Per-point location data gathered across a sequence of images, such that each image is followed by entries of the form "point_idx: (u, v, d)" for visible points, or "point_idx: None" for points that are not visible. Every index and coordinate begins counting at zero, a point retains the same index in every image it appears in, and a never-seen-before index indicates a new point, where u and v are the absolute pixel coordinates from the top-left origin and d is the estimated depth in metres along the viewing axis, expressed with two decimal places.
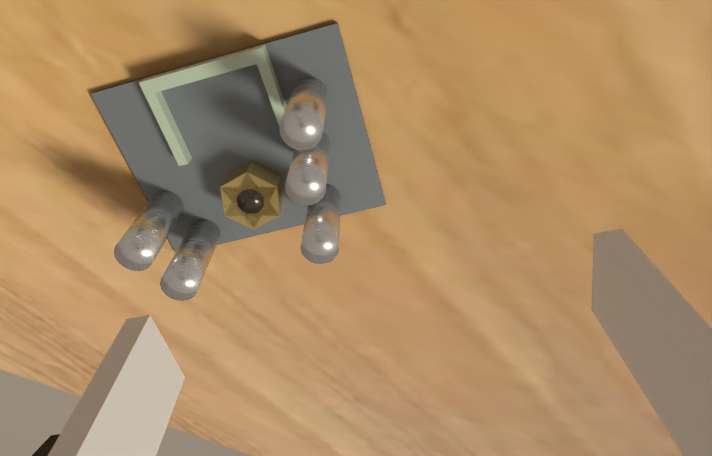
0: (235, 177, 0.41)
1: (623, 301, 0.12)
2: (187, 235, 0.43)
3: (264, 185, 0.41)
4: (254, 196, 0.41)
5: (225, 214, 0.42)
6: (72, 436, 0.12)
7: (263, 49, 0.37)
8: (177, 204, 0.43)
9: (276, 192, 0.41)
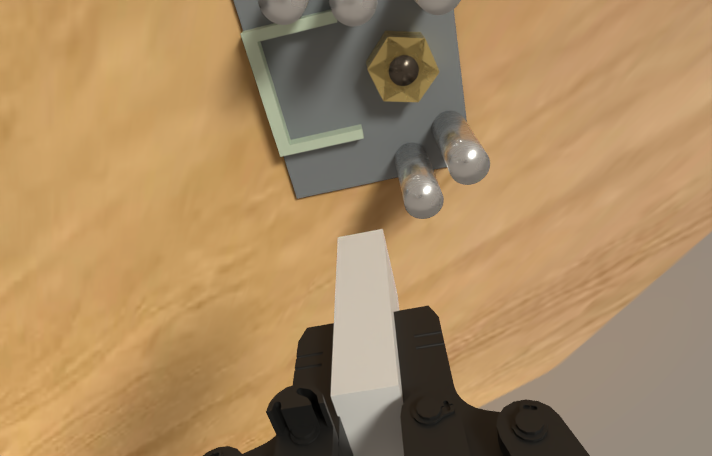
0: (374, 82, 0.38)
1: None
2: (438, 145, 0.40)
3: (384, 51, 0.36)
4: (397, 64, 0.37)
5: (416, 100, 0.38)
6: (348, 319, 0.13)
7: (243, 33, 0.37)
8: (407, 148, 0.42)
9: (394, 38, 0.36)
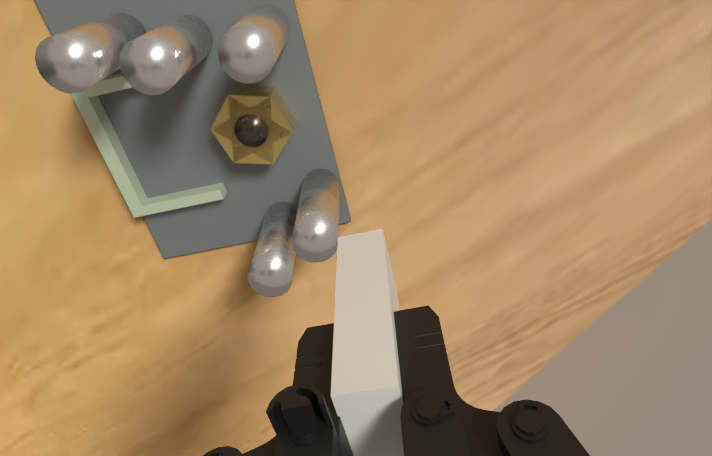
0: None
1: None
2: None
3: (227, 110, 0.32)
4: (244, 124, 0.33)
5: (271, 162, 0.34)
6: (348, 319, 0.13)
7: None
8: (274, 209, 0.38)
9: (235, 96, 0.32)
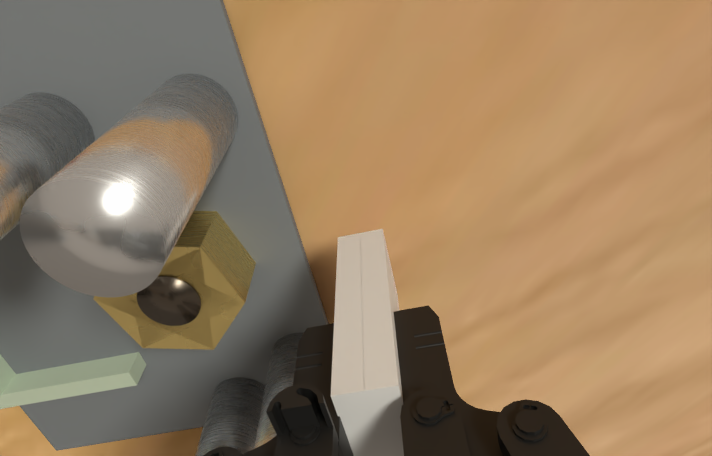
0: None
1: None
2: None
3: None
4: (155, 291, 0.18)
5: (209, 347, 0.19)
6: (348, 319, 0.13)
7: None
8: (224, 395, 0.23)
9: None
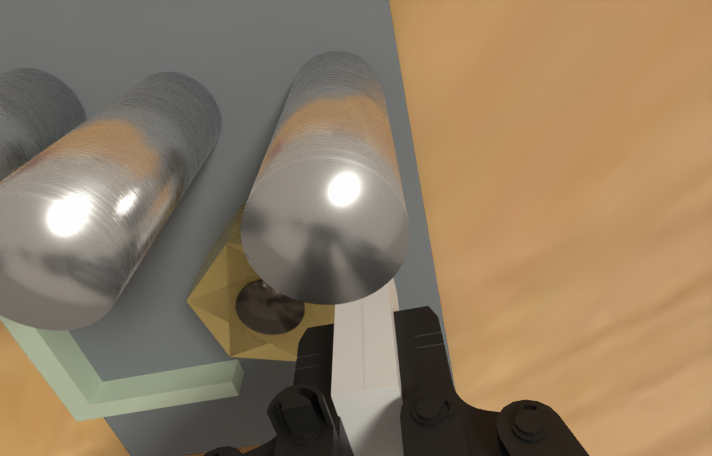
0: None
1: None
2: None
3: (223, 270, 0.15)
4: (256, 296, 0.16)
5: None
6: (348, 319, 0.13)
7: None
8: None
9: (242, 247, 0.15)
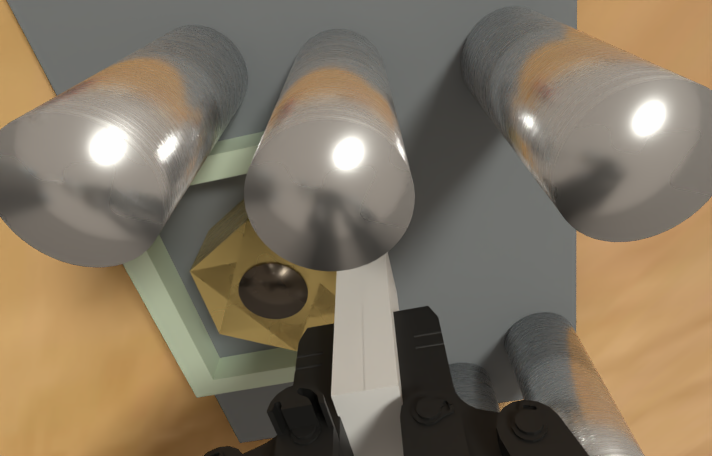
0: None
1: None
2: (523, 398, 0.19)
3: (235, 247, 0.15)
4: (262, 277, 0.16)
5: (293, 348, 0.17)
6: (348, 319, 0.13)
7: None
8: (453, 382, 0.20)
9: None
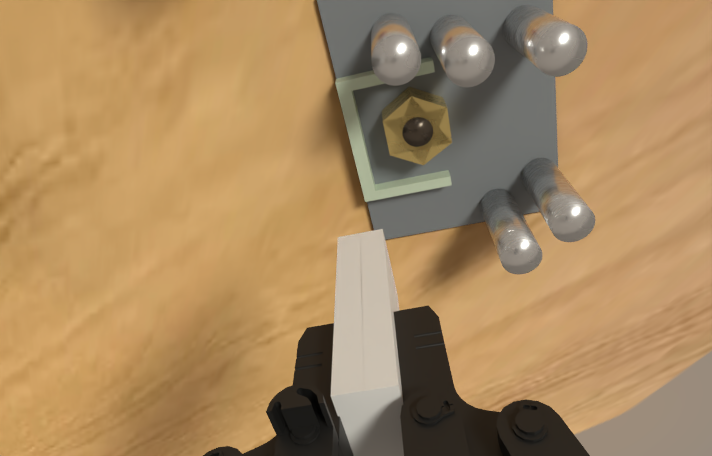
0: None
1: None
2: (530, 194, 0.39)
3: (404, 109, 0.36)
4: (413, 125, 0.36)
5: (422, 163, 0.38)
6: (348, 319, 0.13)
7: (338, 81, 0.36)
8: (495, 195, 0.40)
9: (417, 99, 0.35)
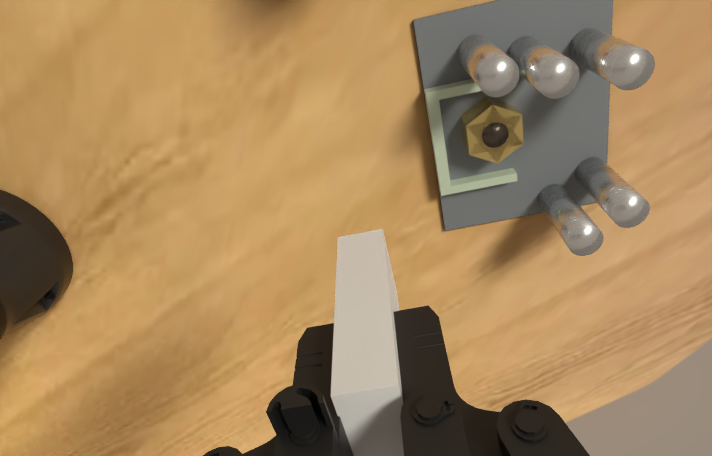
0: (467, 138, 0.43)
1: None
2: (586, 188, 0.45)
3: (485, 115, 0.42)
4: (492, 129, 0.42)
5: (496, 162, 0.44)
6: (348, 319, 0.13)
7: (427, 92, 0.42)
8: (553, 189, 0.47)
9: (497, 107, 0.41)
